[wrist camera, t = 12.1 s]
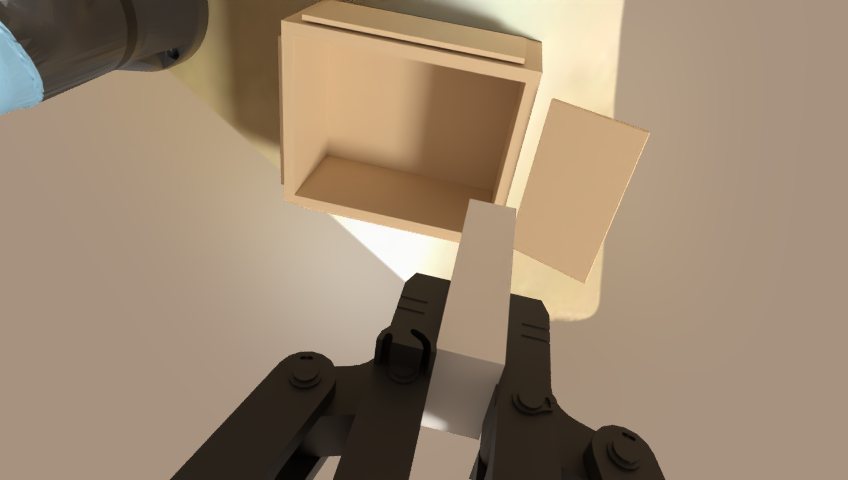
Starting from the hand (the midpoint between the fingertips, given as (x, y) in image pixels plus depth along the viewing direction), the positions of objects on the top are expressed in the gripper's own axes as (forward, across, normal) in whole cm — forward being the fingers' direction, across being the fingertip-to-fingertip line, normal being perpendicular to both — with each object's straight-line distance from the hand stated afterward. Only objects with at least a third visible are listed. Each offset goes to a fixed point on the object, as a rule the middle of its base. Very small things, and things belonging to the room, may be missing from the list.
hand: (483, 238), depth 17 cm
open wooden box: (+36, -8, -10) cm, 39 cm away
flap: (+24, +7, -10) cm, 27 cm away
